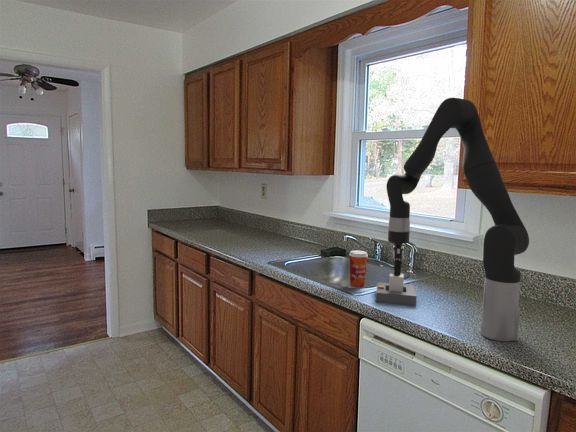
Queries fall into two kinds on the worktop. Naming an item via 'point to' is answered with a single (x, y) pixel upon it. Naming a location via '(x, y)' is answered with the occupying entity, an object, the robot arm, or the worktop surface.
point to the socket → (396, 294)
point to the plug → (396, 283)
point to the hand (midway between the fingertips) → (397, 272)
